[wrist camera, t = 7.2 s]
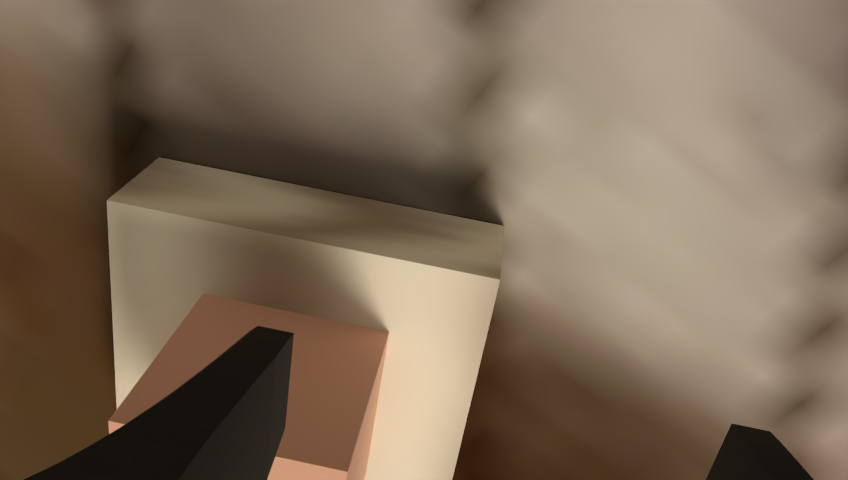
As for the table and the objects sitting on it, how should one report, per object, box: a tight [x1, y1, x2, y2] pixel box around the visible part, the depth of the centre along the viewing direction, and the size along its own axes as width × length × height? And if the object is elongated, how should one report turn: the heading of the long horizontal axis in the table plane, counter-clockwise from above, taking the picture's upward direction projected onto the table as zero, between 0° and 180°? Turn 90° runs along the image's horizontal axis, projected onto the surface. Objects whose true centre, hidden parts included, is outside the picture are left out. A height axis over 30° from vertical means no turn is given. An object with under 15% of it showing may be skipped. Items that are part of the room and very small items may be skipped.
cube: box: [109, 294, 389, 480], centre depth 19 cm, size 5×5×5 cm
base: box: [107, 157, 504, 480], centre depth 22 cm, size 10×10×3 cm
